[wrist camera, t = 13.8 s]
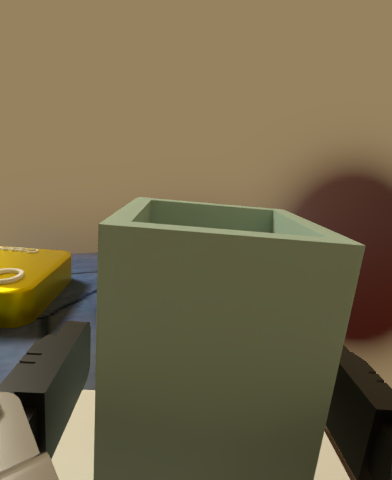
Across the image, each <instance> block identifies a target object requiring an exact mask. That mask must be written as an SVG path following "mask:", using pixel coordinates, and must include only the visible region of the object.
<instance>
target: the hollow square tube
mask: <svg viewBox="0 0 392 480" xmlns="http://www.w3.org/2000/svg"><path fill="white" fill-rule="evenodd" d="M364 249H365V245H363V244H360V243H358V242H356V241H354V240H351V239H349V238H347V237H344V236H342V235H340V234H338V233H336V232H333V231H331V230H329V229H326V228H324V227H322V226H320V225H317V224H315V223H313V222H310V221H308V220H306V219H304V218H301V217H299V216H297V215H294V214H292V213H290V212H288V211H285V210H282V209H270V208H258V207H247V206H236V205H224V204H213V203H201V202H190V201H178V200H166V199H155V198H143V197H137V198H136V199H134V200H133V201H131V202H130V203H129V204H127V205H126V206H124V207H123V208H121V209H120V210H118V211H117V212H115V213H114V214H112V215H111V216H110V217H108V218H107V219H105V220H104V221H103V222H101V223H100V224H99V231H98V281H97V330H96V380H95V429H94V478H93V480H314V476H315V471H316V467H317V462H318V458H319V453H320V449H321V444H322V440H323V435H324V430H325V426H326V421H327V417H328V412H329V408H330V403H331V399H332V394H333V390H334V385H335V381H336V376H337V372H338V367H339V363H340V358H341V353H342V349H343V344H344V340H345V335H346V331H347V326H348V322H349V317H350V312H351V308H352V304H353V299H354V295H355V290H356V286H357V281H358V276H359V272H360V267H361V263H362V258H363V254H364Z"/></svg>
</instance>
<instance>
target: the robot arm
mask: <svg viewBox="0 0 392 480" xmlns="http://www.w3.org/2000/svg"><path fill="white" fill-rule="evenodd" d="M90 332H91V328H90V323H89V322H78V321H66V322H65V324H64V325H63V326H62V328H61V329H60V330H59V332H58V333H57V334H56V335H47V336H45V337H43V338H42V339H40V340H38V341H37V342H35V343H34V344H33V346H32V347H31V348H30V349H29V350H28V352H27V354H26V355H24V356H23V358H22V359H21V360H20V362H19V363H18V364H17V365H16V366H15V367H14V368H13V370H12V371H11V372H10V373H9V375H8V376H7V377H6V378H5V379H4V381H3V382H2V383H1V384H0V480H59V478H58V476H57V473H56V471H55V468H54V466H53V463H52V461H51V459H52V457H53V455H54V453H55V450H56V448H57V446H58V444H59V441H60V439H61V437H62V435H63V432H64V430H65V428H66V426H67V423H68V421H69V419H70V417H71V414H72V412H73V410H74V408H75V405H76V403H77V401H78V399H79V396H80V394H81V392H82V390H83V387H84V385H85V383H86V380H87V377H88V373H89V367H90ZM326 426H327V428H328V429H329V431H330V433H331V435H332V437H333V438H334V440H335V442H336V444H337V446H338V447H339V449H340V451H341V453H342V455H343V456H344V458H345V460H346V462H347V464H348V465H349V467H350V469H351V471H352V473H353V474H354V476H355V478H356V480H392V389H391V388H390V387H389V386H388V384H387V383H384V380H383V379H382V378H381V377H380V376H379V375H378V374H376V372H375V371H374V370H373V368H372V367H370V365H368V363H367V362H366V361H364V360H363V359H361V358H360V357H358V356H357V355H355V354H354V353H352V352H349V350H348V349H347V348H346V347H345V346H344V345H343V349H342V353H341V358H340V363H339V367H338V372H337V376H336V381H335V385H334V390H333V394H332V399H331V403H330V408H329V412H328V417H327V421H326Z"/></svg>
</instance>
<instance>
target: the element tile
mask: <svg viewBox="0 0 392 480" xmlns="http://www.w3.org/2000/svg"><path fill="white" fill-rule="evenodd" d="M70 282H71V254H70V253H69V252H68V251H61V250H47V249H33V248H22V247H20V248H18V247H13V246H12V247H4V246H0V328H17V327H22V326H25V325H28V324H30V323H32V322H34V321H35V320H36V319H37V318H38V317H39V316H40V315H41V314H42V313H43V312H44V310H45V309H46V308H47V307H48V306H49V305H50V304H51V303H52V302H53V301H54V300H55V298H56V297H57V296H58V295H59V294H60V293H61V292H62V291H63V290H64V289H65V288H66V286H67V285H68V284H69V283H70Z"/></svg>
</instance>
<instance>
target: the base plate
mask: <svg viewBox="0 0 392 480" xmlns="http://www.w3.org/2000/svg"><path fill="white" fill-rule="evenodd" d="M94 429H95V390H82V392H81V394H80V396H79V399H78V401H77V403H76V405H75V408H74V410H73V412H72V414H71V417H70V419H69V421H68V423H67V426H66V428H65V430H64V432H63V435H62V437H61V439H60V441H59V444H58V446H57V448H56V450H55V453H54V455H53V457H52V459H51V461H52V463H53V466H54V468H55V471H56V473H57V476H58V478H59V480H93V478H94ZM314 480H350V478H349V476H348V475H347V473H346V471H345V469H344V467H343V465H342V463H341V461H340V460H339V458H338V456H337V454H336V452H335V450H334V448H333V446H332V445H331V443H330V441H329V439H328V437H327V435H326V433H325V431H324V435H323V440H322V444H321V449H320V453H319V458H318V462H317V467H316V471H315V476H314Z"/></svg>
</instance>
